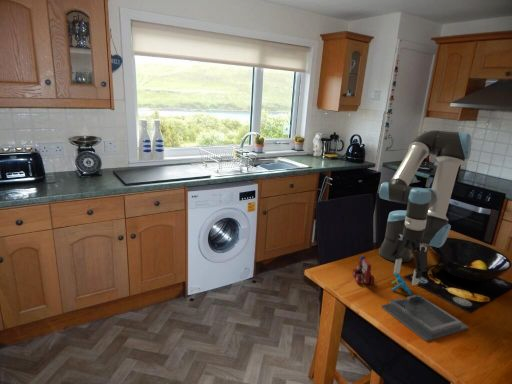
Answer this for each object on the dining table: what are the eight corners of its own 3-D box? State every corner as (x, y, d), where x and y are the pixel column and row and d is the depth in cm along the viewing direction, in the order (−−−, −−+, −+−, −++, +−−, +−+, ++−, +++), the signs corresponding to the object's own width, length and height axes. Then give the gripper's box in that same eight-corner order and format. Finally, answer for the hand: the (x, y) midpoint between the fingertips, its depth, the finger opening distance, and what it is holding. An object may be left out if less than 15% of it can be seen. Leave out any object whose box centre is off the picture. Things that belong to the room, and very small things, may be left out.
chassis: (420, 298, 135) (421, 291, 134) (468, 328, 117) (469, 321, 116) (381, 307, 127) (382, 300, 126) (426, 341, 109) (427, 333, 108)
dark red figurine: (366, 274, 152) (369, 252, 150) (374, 288, 140) (378, 265, 138) (350, 273, 152) (353, 251, 150) (358, 287, 140) (361, 264, 138)
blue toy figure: (416, 298, 133) (400, 278, 132) (402, 305, 134) (387, 286, 134) (409, 284, 143) (394, 266, 142) (396, 291, 145) (382, 273, 144)
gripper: (386, 219, 141) (379, 268, 147) (430, 238, 122) (420, 294, 128) (400, 217, 144) (392, 265, 150) (445, 236, 125) (434, 290, 131)
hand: (405, 278), depth 139 cm, fingers open, 9 cm apart
